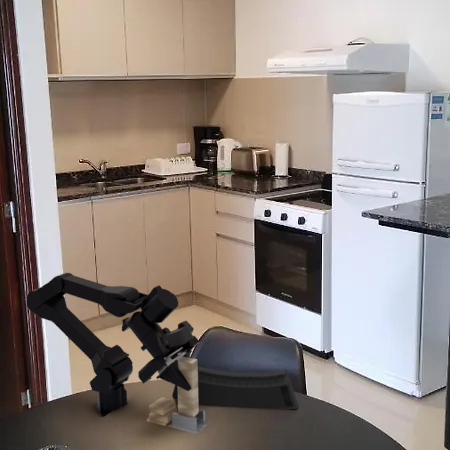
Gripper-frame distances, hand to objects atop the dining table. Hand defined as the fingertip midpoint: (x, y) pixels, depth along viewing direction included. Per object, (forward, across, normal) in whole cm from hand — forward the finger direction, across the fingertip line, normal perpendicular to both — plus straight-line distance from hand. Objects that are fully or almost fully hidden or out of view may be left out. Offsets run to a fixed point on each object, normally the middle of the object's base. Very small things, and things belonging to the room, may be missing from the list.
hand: (193, 387), depth 148 cm
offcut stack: (+1, 0, +13) cm, 13 cm away
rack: (+6, 0, +8) cm, 10 cm away
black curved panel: (+10, +14, +5) cm, 18 cm away
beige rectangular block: (+4, 0, +6) cm, 7 cm away
